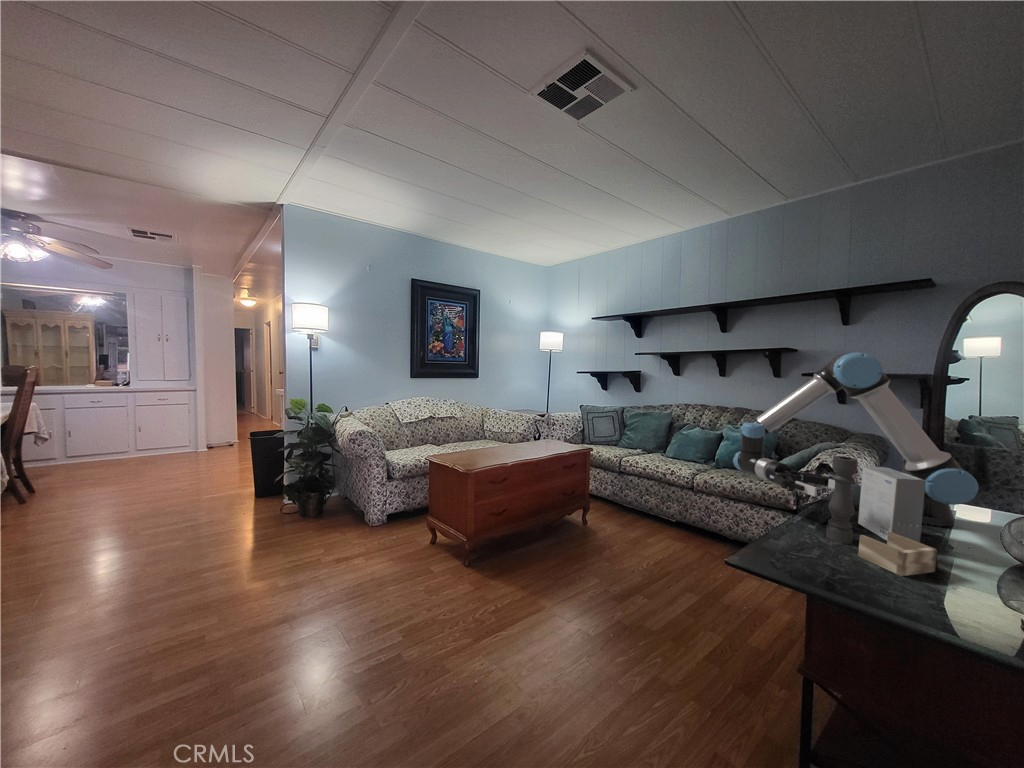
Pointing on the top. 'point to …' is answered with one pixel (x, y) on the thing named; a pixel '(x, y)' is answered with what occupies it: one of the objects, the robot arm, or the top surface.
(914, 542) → the birch crate
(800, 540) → the top surface
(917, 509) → the hard drive box
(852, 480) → the candle holder
